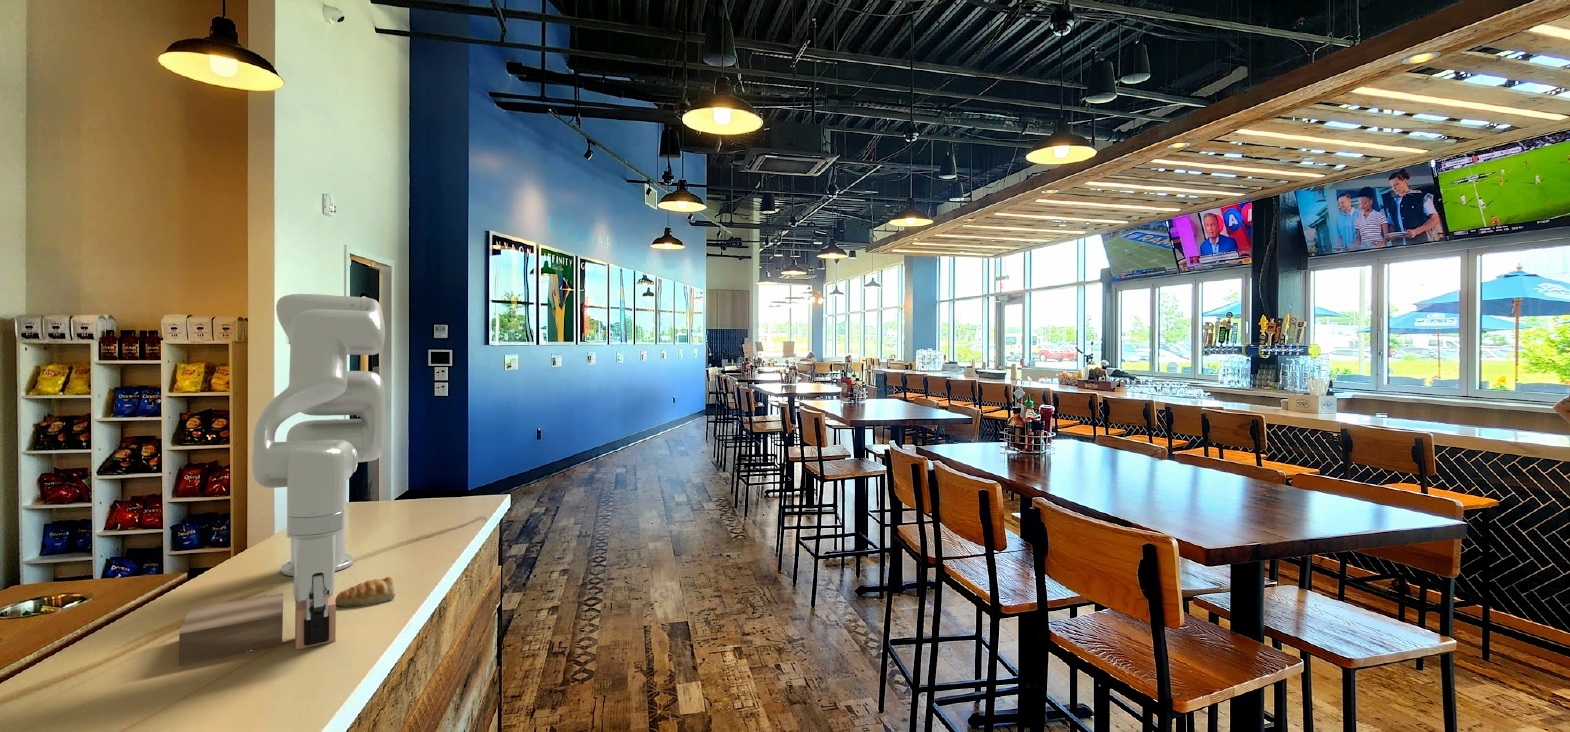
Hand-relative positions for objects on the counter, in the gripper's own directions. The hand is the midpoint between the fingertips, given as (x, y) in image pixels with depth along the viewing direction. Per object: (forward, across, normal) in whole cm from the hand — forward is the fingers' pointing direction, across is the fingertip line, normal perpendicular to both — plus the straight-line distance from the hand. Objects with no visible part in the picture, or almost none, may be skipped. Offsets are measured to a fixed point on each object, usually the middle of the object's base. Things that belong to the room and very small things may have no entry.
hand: (315, 635), depth 106 cm
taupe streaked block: (+1, -7, -10) cm, 12 cm away
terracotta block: (+1, 0, 0) cm, 1 cm away
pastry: (+1, -15, +9) cm, 18 cm away
